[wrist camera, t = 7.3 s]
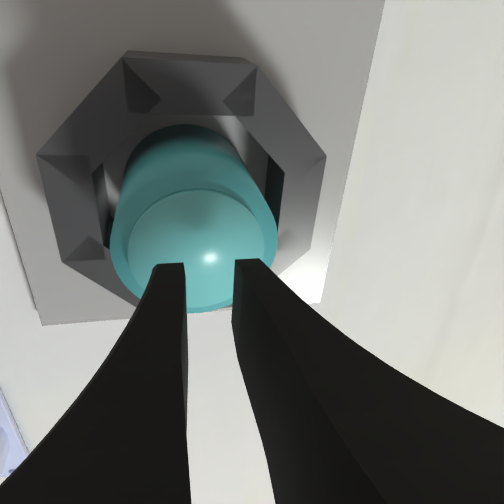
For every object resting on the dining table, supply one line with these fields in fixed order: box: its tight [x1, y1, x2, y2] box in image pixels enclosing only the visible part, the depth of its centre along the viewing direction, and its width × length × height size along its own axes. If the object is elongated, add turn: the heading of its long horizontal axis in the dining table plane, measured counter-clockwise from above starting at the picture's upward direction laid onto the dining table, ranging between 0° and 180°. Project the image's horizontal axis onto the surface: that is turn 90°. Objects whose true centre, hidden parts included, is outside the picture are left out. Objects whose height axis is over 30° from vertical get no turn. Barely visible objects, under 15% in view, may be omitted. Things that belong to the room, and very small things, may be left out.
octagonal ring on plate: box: [0, 0, 385, 326], centre depth 15 cm, size 14×14×3 cm
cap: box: [110, 124, 278, 313], centre depth 13 cm, size 5×5×5 cm
